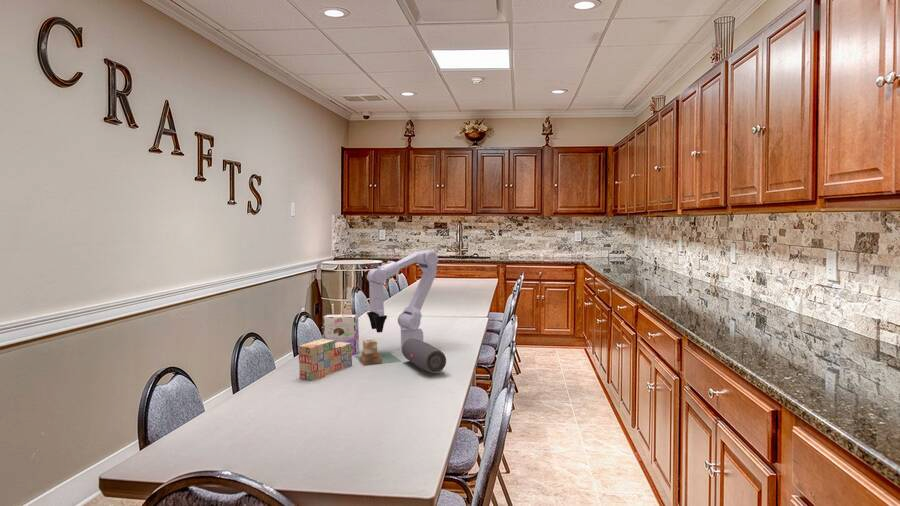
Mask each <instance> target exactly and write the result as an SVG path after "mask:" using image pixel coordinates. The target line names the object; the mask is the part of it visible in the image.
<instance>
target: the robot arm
mask: <svg viewBox="0 0 900 506" xmlns="http://www.w3.org/2000/svg"><path fill="white" fill-rule="evenodd" d="M439 261H440V260H439V257H438V254H437V253H436V252H435V251H434V250H423V249H419V250H417V251H413V252H412V253H410V254H409V255H407V256H405V257H403V258H401V259H400V260H397V261H393V260H388V261H387V262H386V263H385V264H383V265H378V266H377V268H372V269H369V271H368V273H367V275H366V280H367V281H368V285H369V288H368V289H369V308H366V311H367V312H366V314H367V316H368V320H369V322H370V327H371V329H372V330H375V331H376V333H377V334H379V333H383V331H384V326H385V322H386V320H387V318H388V315H387V314H386V315H385V308H384V305H385V304H384V302H385V301H384V283H385V281H386V280H387V279H389V278H391V277H393V276H395V275H397V274H398V273H399V272H400V270H402V269H403V268H406V267H409V266H410V265H413V264H417V265H418V266H419V268H420V269H421V271H422V275H421V278H420V280H419V282H418V284H417V287H416V288H415V291H414V293H413V295H412V298H411V300H410V302H409V304H408V306H406V307H404V308H403V311H402V312H401V313H400V314H399V315H398V318H397V324H398V325H399V327H400V347H399V346H398V347H397V349H398V350H400V351H401V352H402V346H403V344H404V342H405V341H406V340H408V339H411V338H413V339H418V340H421V341H423V342H425V340H424V331H423V329H422V328H419V327H420V325H421V320H422V317H423V315H422V312H421V310H422V307H423V305H424V303H425V301H426V298H427V296H428V294H429V292H430V290H431V288H432V285H433V283H434V280H435V278H436V276H437V271H438V270H437V269H438V263H439Z"/></svg>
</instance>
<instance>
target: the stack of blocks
mask: <svg viewBox="0 0 900 506" xmlns="http://www.w3.org/2000/svg"><path fill="white" fill-rule="evenodd" d="M298 363H299V379H300V378H301V380H305V381H310V382H312V381H315V380H318V379H322V378H324V376H325V377H326V376H327V375H330V374H332V373H334V372H337V371H340V370H344V369H346V368H349V367H352V366H353V355H352V351H351V343H346V342H337V343H335V340H329V339H324V338H320V339H318V340H316V339H315V340H313V341H310V342H307V343H304V344H299V345H298Z"/></svg>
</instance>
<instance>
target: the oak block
mask: <svg viewBox="0 0 900 506" xmlns="http://www.w3.org/2000/svg"><path fill="white" fill-rule="evenodd" d="M362 351H363V352H364V353H365V354H373V353H377V352H378V341H377V340H375V339H365V340H363V339H362Z"/></svg>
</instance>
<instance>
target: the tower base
mask: <svg viewBox="0 0 900 506" xmlns="http://www.w3.org/2000/svg"><path fill="white" fill-rule="evenodd" d="M359 356H360V361H359V362H360V364H362V365H363V366H364V365H368V366H374V365H373V364H377V365H382V364H381V363H382V358H381V357H379V358H376V359H367V360H365V359H364V358H363V357H362V356H361V355H359Z"/></svg>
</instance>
